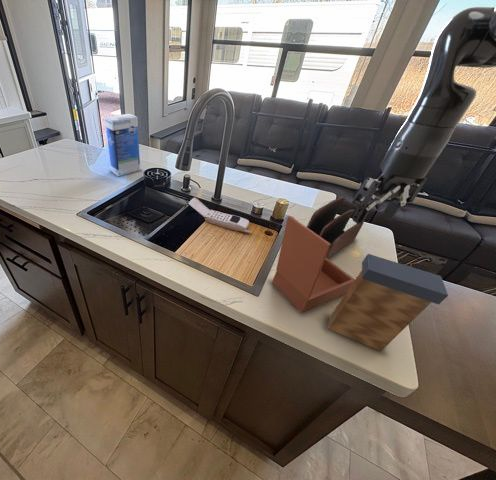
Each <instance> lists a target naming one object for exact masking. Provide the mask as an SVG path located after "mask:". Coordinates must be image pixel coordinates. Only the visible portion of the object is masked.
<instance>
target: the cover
mask: <svg viewBox="0 0 496 480" xmlns="http://www.w3.org/2000/svg"><path fill="white" fill-rule="evenodd" d="M330 246H331V244H330V243H329V242H327V241H326V240H324V239H323V238H322V237H320V236H319V235H317V234H316V233H314V232H313V231H311V230H310V229H309V228H307V225H304V224H303V223H301V222H300V221H299V220H297V219H295V217H293V216H291V215H288V216H287V218H286V223H285V227H284V232H283V236H282V240H281V246H280V250H279V255H278V260H277V264H276V269H275V271H278V272H279V273H280V274H281V275H282V276H283V277H284V278H285V279H286V280H287V281H288V282H289V283H290V284H291V285H292V286H293V287H294V288H296V289H297V290H298V291H299V292H300V293H301V294H302V295H303V296H304V297H305V298H306V299H307V300H309V299H310V296H311V294H312V291H313V289H314V286H315V284H316V281H317V279H318V276H319V274H320V271H321V269H322V266H323V263H324V261H325V258H326V256H327V253H328V251H329V248H330Z"/></svg>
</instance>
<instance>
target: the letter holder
mask: <svg viewBox="0 0 496 480" xmlns="http://www.w3.org/2000/svg"><path fill="white" fill-rule="evenodd" d="M345 200H346V197H345V196H341V197H338V198H335V199H333V200H331V201H330V202H328V203H326V204H324V205H323V206H320V207H319V208H318V209H317V210H315V211H314V212H313V214H312V215H311V217H310V219H309V221H308V223H307V225H306V227H307V228H309V229H310V230H311V231H313V232H314V233H316V234H317V235H319V236H320V237H322V238H323V239H324V240H326V241H327V242H329V243H330V244H331V246H330V248H329V251H328V253H327V256H326V258H327V259H328V260H329V259H330V258H331V257H332V256H333V255H335V254H337V253H338V252H339V251H341V250H342V249H344V248H345V247H346V246H348V245H349V244H350V243H352V242H353V241H354V240H356V238H357V236H358V234H359V233H360V231H361V229H362V227H363V225H364V223H365V221H364V222H363V223H362V224H357V223H355V224H354V225H353V226H351V227H349V228H348V229H346V230H345V228H346V226H347V225H348V222H349V221H350V219H351V217H352V216H353V215H354V213H355V209H349V210H347V211H345V212H343V213H341V214H339V215H338V216H337V214H338V213H339V211H340V209H341V208H342V205H343V203H344V202H345Z"/></svg>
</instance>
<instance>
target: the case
mask: <svg viewBox="0 0 496 480" xmlns="http://www.w3.org/2000/svg"><path fill="white" fill-rule="evenodd" d="M355 279H356V278H354V277H352V276H351V275H350V274H348V273H347V272H345V271H344V270H343V269H342V268H340V267H339V266H337V265H336V264H335V263H334V262H332V260H330V259H329V258H328V259H327V258H325V261H324V263H323V266H322V269H321V271H320V274H319V276H318V279H317V281H316V284H315V286H314V289H313V291H312V294H311V296H310V299H309V300H307V299H306V298H305V297H304V296H303V295H302V294H301V293H300V292H299V291H298V290H297V289H296V288H294V287H293V286H292V285H291V284H290V283H289V282H288V281H287V280H286V279H285V278H284V277H283V276H282V275H281V274H280V273H279V272H278V271H277V270H275V273H274V276H273V279H272V281H271V283H272V284H273V286H274V287H276V288H277V289H278V290H279V292H281V294H282V295H284V297H285V298H286V299H288V301H289V302H290V303H291V304H292V305H293V306H294V307H295V308H296V309H297V310H298V311H299V312H300V313H303V312H306V311H308V310H311V309H313V308H315V307H318V306H321V305H322V304H324V303H327V302H329V301H331V300H333V299H335V298H336V299H337V298H338V297H340V296H344V295H345V294H346V292H347V291H348V289H349V288H350V287H351V285H352V284H353V282H354V281H355Z"/></svg>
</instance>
